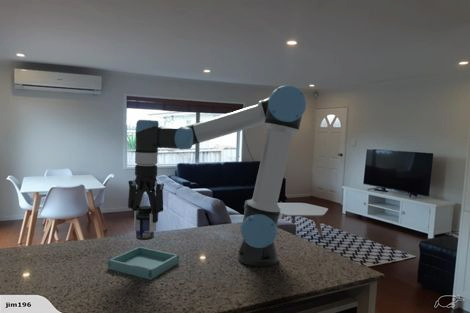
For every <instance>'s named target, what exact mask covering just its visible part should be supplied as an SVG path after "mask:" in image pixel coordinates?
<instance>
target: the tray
mask: <svg viewBox="0 0 470 313" xmlns="http://www.w3.org/2000/svg"><path fill="white" fill-rule="evenodd" d="M179 257H180V256H179V254H176V253H171V252H166V251H163V250H158V249H157V250H156V249H152V248H147V247H143V246H138V247H135V248H133V249H131V250H128V251H126V252H123V253H121V254H119V255H117V256H115V257H112V258H109V259H108V265H107V266H108V267H107V268H108V270H112V271H115V272H119V273H123V274H128V275H132V276H135V277H139V278H142V279H147V280H150V281H151V280H153V279H154V278H156V277H158V276H160V275H161V274H163V273H165V272H166V271H168V270H170V269H172V268H173V267H175V266H176V265H179V261H180V260H179Z"/></svg>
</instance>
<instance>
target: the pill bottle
mask: <svg viewBox="0 0 470 313" xmlns="http://www.w3.org/2000/svg"><path fill="white" fill-rule="evenodd" d="M138 211H139V213H138V214H137V216H136V230H135V238H136V240H139V241H149V240H152V239H154V237H155V231H154V232H149V229H150V213H152V211H151V206H150V205H140V207H139V208H138Z"/></svg>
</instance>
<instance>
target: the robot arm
mask: <svg viewBox="0 0 470 313" xmlns="http://www.w3.org/2000/svg"><path fill="white" fill-rule="evenodd" d="M306 108H307V100H306V97H305V94H304V93H303V92H302V90H301V89H300V88H298V87H296V86H293V85H289V84H287V85H286V84H285V85H282V86H278V87H277V88H275V89H274V90H272V92H271V93H270V96H269V97H267V98H265V99H262V100H259V101H258V103H257V104H255V105H251V106H247V107H245V108H241V109H238V110H235V111H233V112H232V111H231V112H227V113H226V114H222V115H220V116H219V115H218V116H216V117H215V116H214V117H212V118H210V119H206V120H203V121H199V122H196V123H193V124H190V125H186V126H163V125H160V124H159V121H158V120H154V119H151V120H150V119H138V120H137V121H136V125H135V127H136V128H135V132H134V134H135V152H134V153H135V156H134V163H135V166H134V175H135V179H132V180H128V182H127V183H128V187H129V190H128V198H127V199H128V201H127V202H128V203H127V207H128V209H130V210H132V219H133V230H135V231H136V216H137V214H138V213H139V211H138V208H139V207H140V206H141V203H142V200H143V196H144V193H145V192H146V195H147V196H148V197H147V198H148V201H149V206H151V213H150V229H149V232H154V233H155V232H157V223H158V222H159V213H161V212H164V186H165V184H164V183H163V182H162V183H161V182H158V179H157V177H158V166H157V164H158V160H159V159H158V152H159V151H158V149H170V150H171V149H173V150H174V149H175V150H191V149H192V148H193V146H194V145H198V144H201V143H203V142H208V141H210V140H215V139H218V138H221V137H224V136H227V135H231V134H234V133H238V132H242V131H245V130H249V129H252V128H255V127H257V126H258V127H259V126H261V125H264V126H265V127H266V129H267V130H266V131H267V132H266V135H265V139H264V140H265V141H264V144H263V148H262V149H263V150H262V154H261V157H260V161H259V166H258V167H259V168H258V172H257V175H256V180H255V184H254V190H253V195H252V198H251V199H247V200H245V201H244V205H243V209H244V210H243V211H244V212H243V213H244V214H243V218H242V222H241V224H240V225H241V226H240V232H241V233H240V234H241V237H242V240H241V241H242V242H241V244H240V245H239V246H240V247H239V248H238V249H239V250H238V253H237V260H238V261H239V263H242V264H244V265H245V266H250V267H259V268H263V267H270V266H273V265H276V264H277V262H278V252H277V248H276V244H275V240H276V238H277V236H278V235H277V234H278V223H279V218H280V213H281V208H280V207H279V205H278V203H279V202H278V201H279V198H280V195H281V194H280V193H281V188H282V184H283V180H284V175H285V172H286V166H287V162H288V158H289V153H290V149H291V144H292V142H293V141H292V140H293V136H294V135H295V133H298V132H299V130H300V127H301V122H302V117H303V114H304V113H305V111H306Z"/></svg>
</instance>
